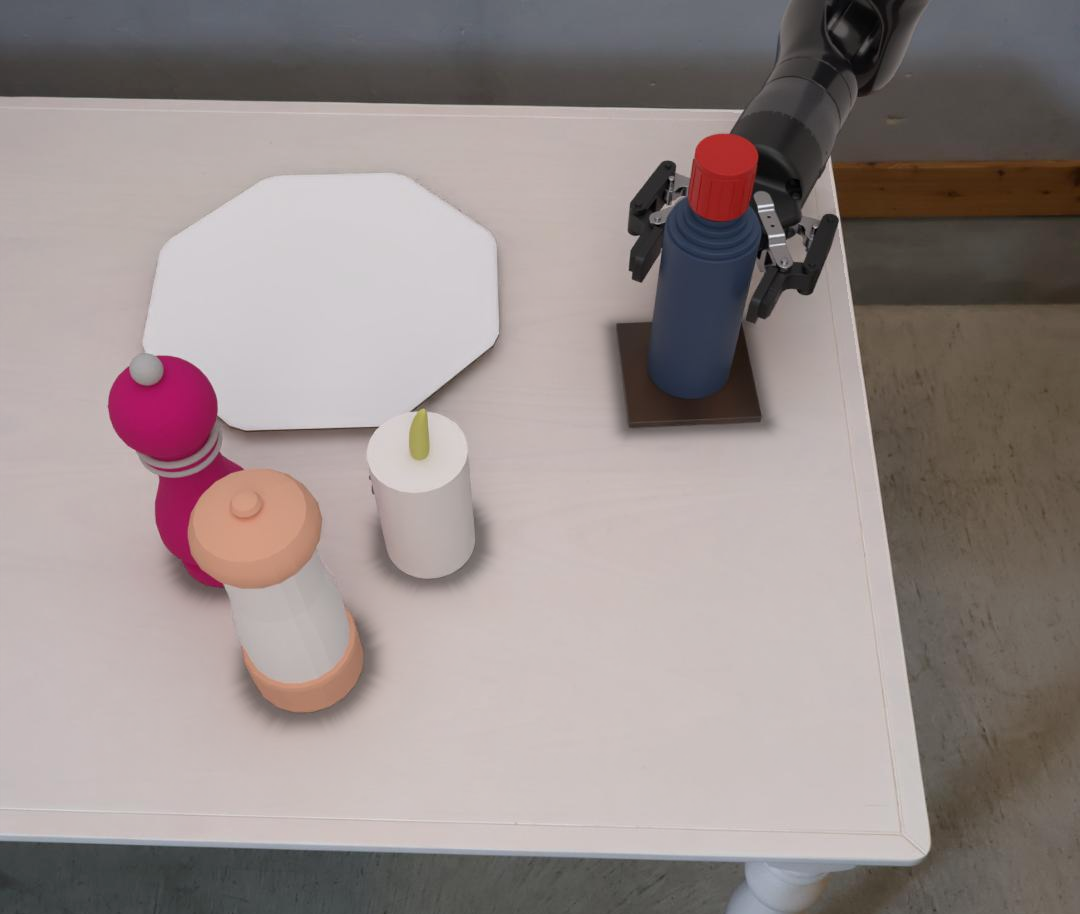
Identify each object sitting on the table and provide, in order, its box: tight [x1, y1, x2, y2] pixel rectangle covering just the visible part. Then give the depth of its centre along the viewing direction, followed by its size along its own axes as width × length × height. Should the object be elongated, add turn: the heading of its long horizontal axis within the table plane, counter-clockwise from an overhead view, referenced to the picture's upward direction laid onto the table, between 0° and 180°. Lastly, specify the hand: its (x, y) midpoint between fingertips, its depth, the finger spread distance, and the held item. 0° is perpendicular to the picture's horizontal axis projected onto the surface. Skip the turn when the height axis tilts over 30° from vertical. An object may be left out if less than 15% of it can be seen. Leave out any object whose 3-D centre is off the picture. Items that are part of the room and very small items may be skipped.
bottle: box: [647, 196, 762, 399], centre depth 77 cm, size 6×6×20 cm
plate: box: [141, 172, 500, 433], centre depth 89 cm, size 28×28×2 cm
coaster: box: [615, 321, 763, 429], centre depth 86 cm, size 10×10×1 cm
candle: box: [366, 408, 476, 580], centre depth 71 cm, size 6×6×15 cm
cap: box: [688, 132, 758, 221], centre depth 70 cm, size 4×4×4 cm
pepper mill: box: [107, 352, 245, 588], centre depth 69 cm, size 7×7×20 cm
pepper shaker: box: [188, 468, 365, 713], centre depth 65 cm, size 7×7×19 cm
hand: (693, 293), depth 76 cm, fingers open, 8 cm apart
